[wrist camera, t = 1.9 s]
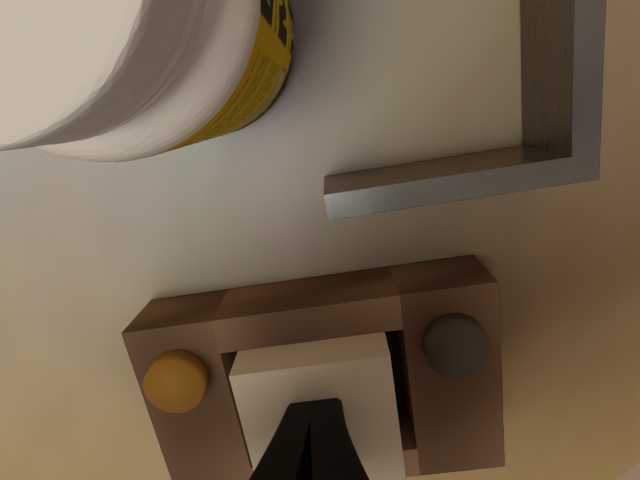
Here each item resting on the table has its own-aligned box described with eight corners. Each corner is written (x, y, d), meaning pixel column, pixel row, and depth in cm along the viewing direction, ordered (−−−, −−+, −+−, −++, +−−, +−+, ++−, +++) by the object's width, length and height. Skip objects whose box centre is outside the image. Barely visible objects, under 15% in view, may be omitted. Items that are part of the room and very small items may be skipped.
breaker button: (378, 307, 13) (390, 356, 10) (393, 417, 14) (406, 483, 12) (247, 325, 13) (228, 376, 11) (272, 432, 14) (261, 499, 12)
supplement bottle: (334, 56, 11) (345, -51, 3) (202, 168, 12) (-42, 301, 4) (209, -117, 10) (-253, -946, 2) (74, 21, 11) (-585, -178, 3)
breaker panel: (473, 254, 13) (507, 292, 10) (482, 418, 15) (513, 483, 12) (150, 300, 13) (110, 345, 11) (197, 451, 15) (172, 519, 13)
